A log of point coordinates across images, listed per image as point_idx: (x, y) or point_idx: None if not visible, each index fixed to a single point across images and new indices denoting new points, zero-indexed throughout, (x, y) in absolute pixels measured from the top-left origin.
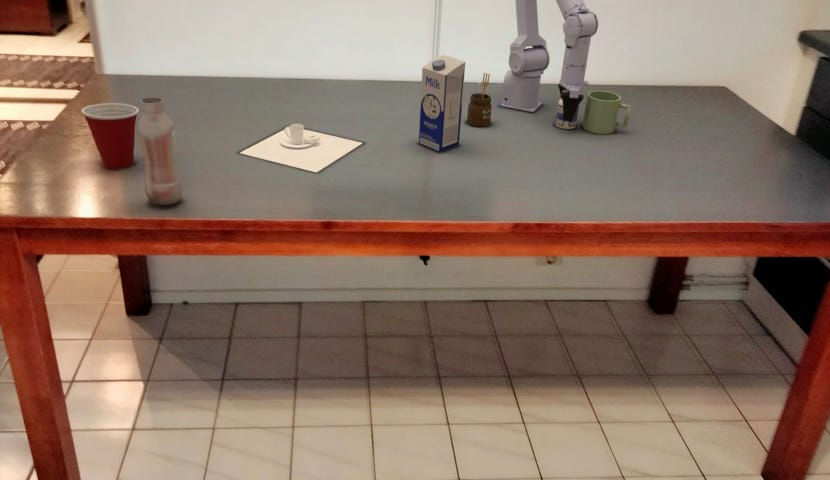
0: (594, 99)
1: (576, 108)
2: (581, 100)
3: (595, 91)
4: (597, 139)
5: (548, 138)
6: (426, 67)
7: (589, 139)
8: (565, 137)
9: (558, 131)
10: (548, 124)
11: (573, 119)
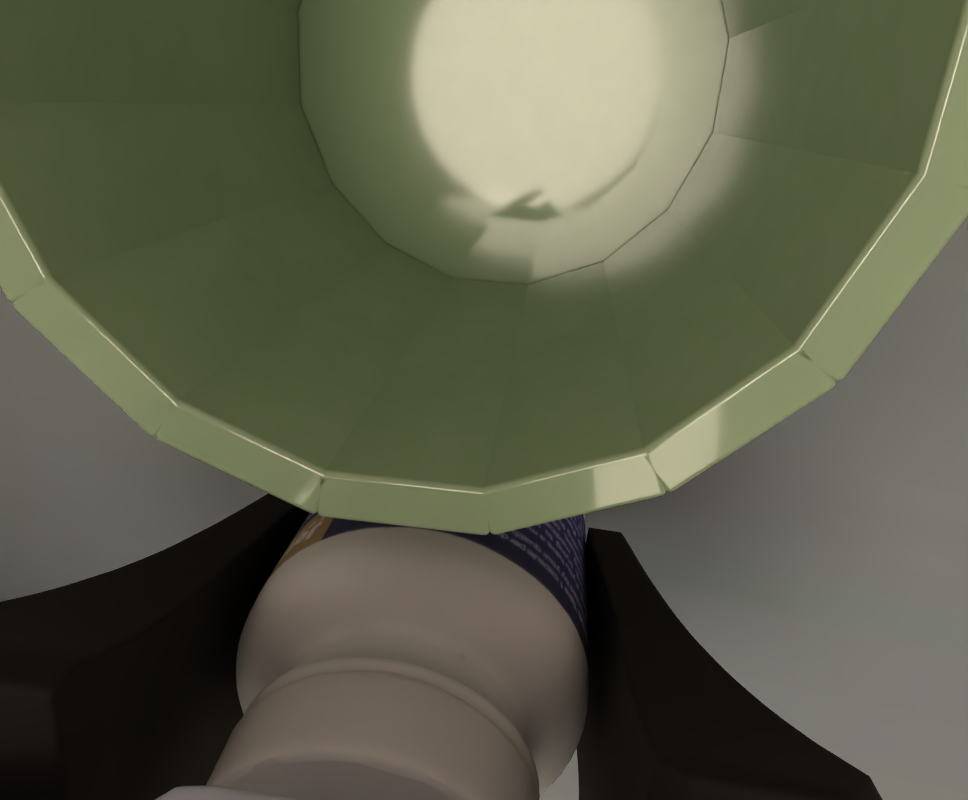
0: (738, 436)
1: (710, 658)
2: (858, 781)
3: (22, 230)
4: None
5: (843, 727)
6: None
7: (930, 316)
8: (830, 571)
9: None
10: None
11: None
